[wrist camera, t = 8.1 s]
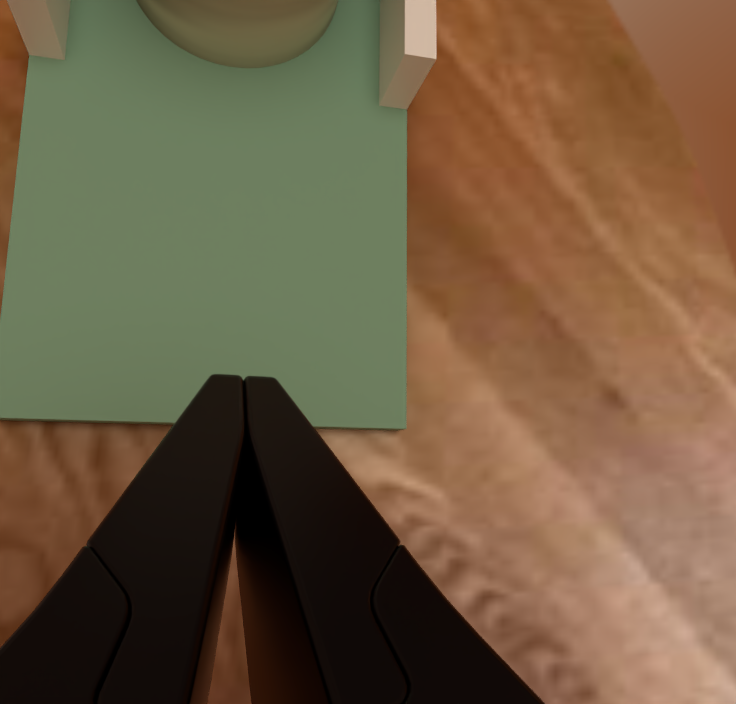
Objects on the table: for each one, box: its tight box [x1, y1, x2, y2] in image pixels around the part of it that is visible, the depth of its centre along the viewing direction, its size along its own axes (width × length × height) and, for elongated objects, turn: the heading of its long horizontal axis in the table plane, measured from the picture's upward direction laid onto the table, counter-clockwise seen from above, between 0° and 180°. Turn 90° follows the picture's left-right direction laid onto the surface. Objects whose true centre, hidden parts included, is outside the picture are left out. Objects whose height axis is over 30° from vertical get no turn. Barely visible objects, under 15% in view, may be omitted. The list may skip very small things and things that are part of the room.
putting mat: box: [0, 0, 407, 431], centre depth 22 cm, size 22×12×1 cm, turn 0°
